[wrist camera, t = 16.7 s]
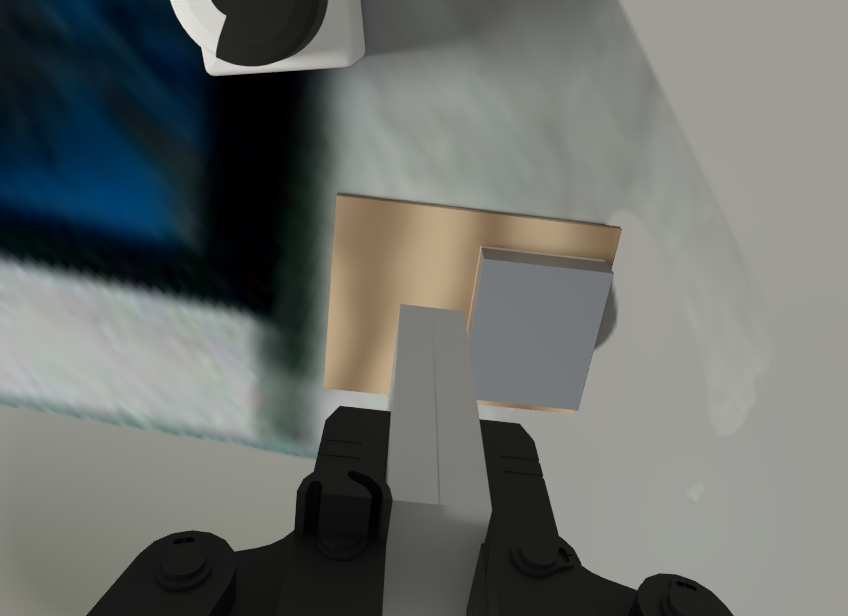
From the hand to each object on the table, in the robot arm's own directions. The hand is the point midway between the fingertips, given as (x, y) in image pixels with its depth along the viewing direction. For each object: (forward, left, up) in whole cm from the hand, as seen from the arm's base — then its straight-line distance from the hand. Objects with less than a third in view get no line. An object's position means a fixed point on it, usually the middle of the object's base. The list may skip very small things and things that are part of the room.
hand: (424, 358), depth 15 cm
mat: (+4, -11, -26) cm, 28 cm away
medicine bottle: (-8, +7, -26) cm, 29 cm away
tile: (+4, -11, -24) cm, 27 cm away
